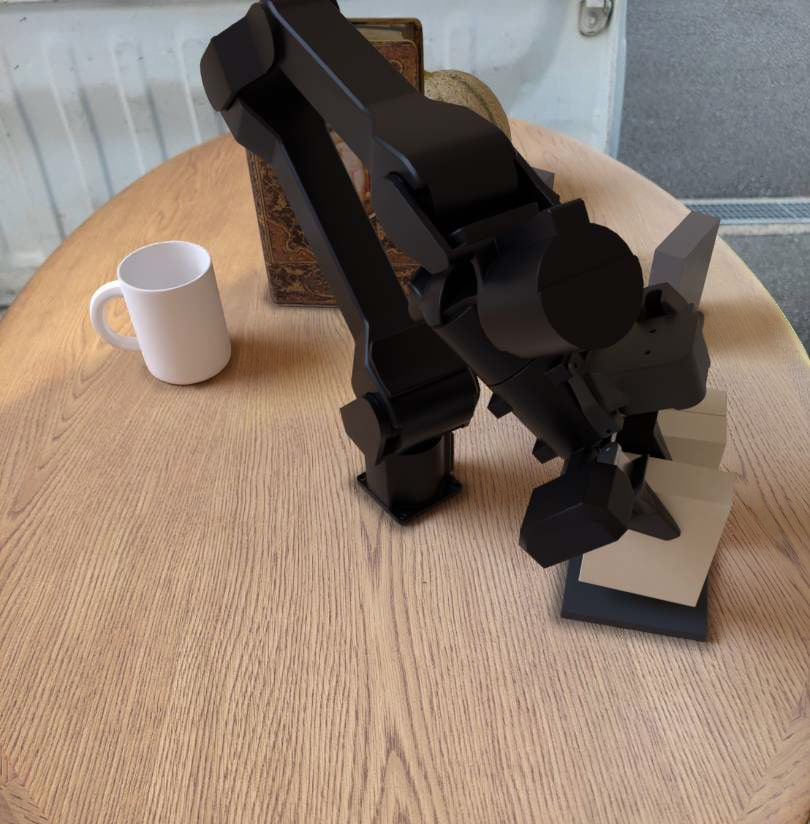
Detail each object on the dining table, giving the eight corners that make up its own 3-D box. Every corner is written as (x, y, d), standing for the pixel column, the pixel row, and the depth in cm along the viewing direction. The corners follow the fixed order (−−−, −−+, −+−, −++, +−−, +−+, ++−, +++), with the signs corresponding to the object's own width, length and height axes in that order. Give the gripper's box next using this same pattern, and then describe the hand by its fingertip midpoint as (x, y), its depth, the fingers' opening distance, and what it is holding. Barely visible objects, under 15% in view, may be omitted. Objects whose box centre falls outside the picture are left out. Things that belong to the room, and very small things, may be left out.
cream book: (578, 581, 61) (597, 480, 54) (586, 549, 63) (605, 448, 56) (695, 607, 59) (732, 506, 52) (699, 574, 61) (735, 472, 54)
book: (266, 305, 90) (218, 41, 71) (276, 276, 94) (234, 17, 75) (424, 309, 88) (418, 41, 70) (428, 279, 92) (424, 17, 73)
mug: (101, 394, 81) (65, 298, 74) (114, 341, 87) (82, 246, 79) (230, 384, 82) (207, 287, 74) (235, 332, 87) (214, 237, 79)
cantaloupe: (516, 233, 98) (525, 93, 86) (385, 242, 97) (377, 103, 86) (498, 171, 107) (503, 39, 96) (379, 180, 107) (371, 47, 96)
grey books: (663, 354, 82) (685, 258, 75) (484, 291, 90) (488, 199, 83) (697, 312, 86) (721, 218, 79) (523, 256, 94) (530, 165, 87)
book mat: (560, 617, 62) (576, 514, 54) (583, 465, 73) (600, 360, 65) (704, 641, 61) (743, 539, 53) (707, 483, 71) (741, 376, 63)
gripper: (607, 388, 39) (792, 595, 45) (661, 189, 50) (803, 375, 56) (438, 478, 47) (614, 645, 52) (518, 288, 58) (656, 442, 64)
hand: (677, 518), depth 56 cm, fingers closed on cream book, 3 cm apart
